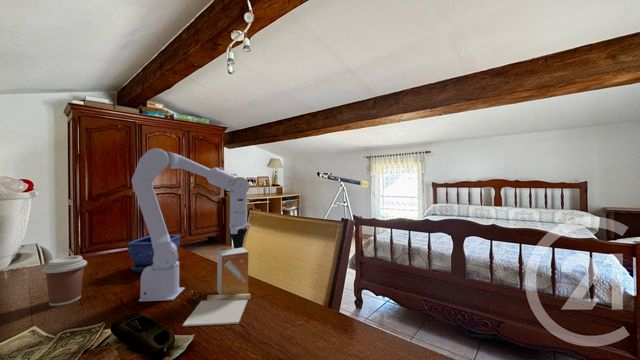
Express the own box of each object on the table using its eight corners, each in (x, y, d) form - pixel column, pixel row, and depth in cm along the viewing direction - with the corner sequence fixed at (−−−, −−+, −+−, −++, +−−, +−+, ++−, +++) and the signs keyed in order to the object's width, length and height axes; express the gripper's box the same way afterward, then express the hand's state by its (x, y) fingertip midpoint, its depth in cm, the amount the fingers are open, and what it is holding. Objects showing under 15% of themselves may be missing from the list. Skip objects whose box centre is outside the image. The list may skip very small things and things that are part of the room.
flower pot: (161, 274, 93) (161, 242, 93) (125, 274, 93) (126, 242, 93) (181, 263, 106) (181, 234, 106) (150, 262, 106) (150, 234, 106)
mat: (182, 326, 60) (182, 324, 60) (201, 302, 72) (201, 300, 72) (238, 323, 61) (238, 322, 61) (247, 300, 73) (247, 298, 73)
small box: (221, 300, 73) (221, 255, 73) (216, 291, 79) (217, 250, 79) (248, 293, 78) (248, 251, 78) (242, 286, 83) (243, 246, 83)
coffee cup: (34, 304, 70) (35, 261, 70) (76, 291, 79) (76, 253, 79) (52, 311, 67) (52, 266, 67) (93, 296, 75) (94, 256, 75)
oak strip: (207, 301, 72) (207, 296, 72) (208, 300, 73) (208, 295, 73) (249, 299, 73) (249, 294, 73) (250, 298, 74) (250, 293, 74)
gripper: (246, 214, 81) (246, 256, 81) (253, 209, 95) (253, 244, 95) (223, 214, 80) (223, 257, 80) (234, 209, 95) (234, 245, 95)
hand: (238, 250), depth 88 cm, fingers closed
